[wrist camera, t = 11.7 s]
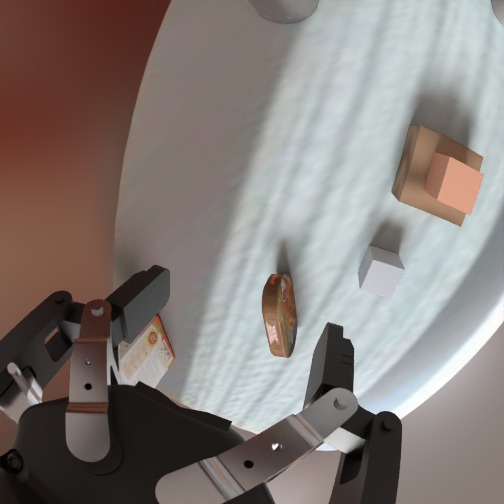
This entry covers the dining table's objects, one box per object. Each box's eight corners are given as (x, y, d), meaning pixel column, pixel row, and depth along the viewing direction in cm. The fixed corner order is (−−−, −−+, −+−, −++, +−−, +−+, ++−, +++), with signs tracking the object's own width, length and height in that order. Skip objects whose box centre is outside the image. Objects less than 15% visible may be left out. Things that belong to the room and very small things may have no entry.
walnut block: (409, 125, 29) (420, 125, 24) (467, 152, 27) (483, 157, 23) (391, 192, 34) (399, 201, 29) (448, 215, 32) (460, 226, 28)
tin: (298, 335, 49) (290, 368, 41) (282, 335, 50) (271, 367, 42) (290, 263, 43) (279, 292, 36) (270, 264, 44) (256, 292, 37)
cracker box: (139, 311, 59) (84, 370, 41) (159, 315, 57) (104, 379, 39) (157, 353, 65) (114, 411, 47) (176, 358, 63) (133, 420, 45)
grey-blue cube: (369, 244, 38) (373, 259, 33) (398, 254, 37) (404, 269, 33) (358, 272, 40) (359, 290, 36) (386, 281, 39) (390, 299, 35)
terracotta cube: (434, 152, 25) (449, 156, 21) (465, 167, 24) (483, 174, 20) (423, 189, 28) (436, 200, 23) (454, 203, 27) (470, 215, 22)
